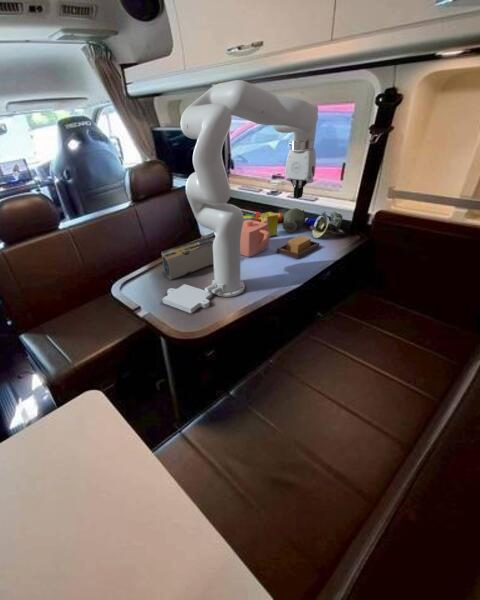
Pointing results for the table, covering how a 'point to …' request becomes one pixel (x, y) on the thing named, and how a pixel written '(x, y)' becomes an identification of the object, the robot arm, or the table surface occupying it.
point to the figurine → (311, 222)
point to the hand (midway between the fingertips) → (297, 197)
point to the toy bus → (187, 258)
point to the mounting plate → (187, 298)
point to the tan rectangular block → (298, 244)
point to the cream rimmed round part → (325, 226)
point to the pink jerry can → (254, 237)
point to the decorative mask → (258, 217)
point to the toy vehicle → (336, 219)
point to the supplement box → (271, 222)
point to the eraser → (283, 211)
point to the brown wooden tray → (312, 247)
